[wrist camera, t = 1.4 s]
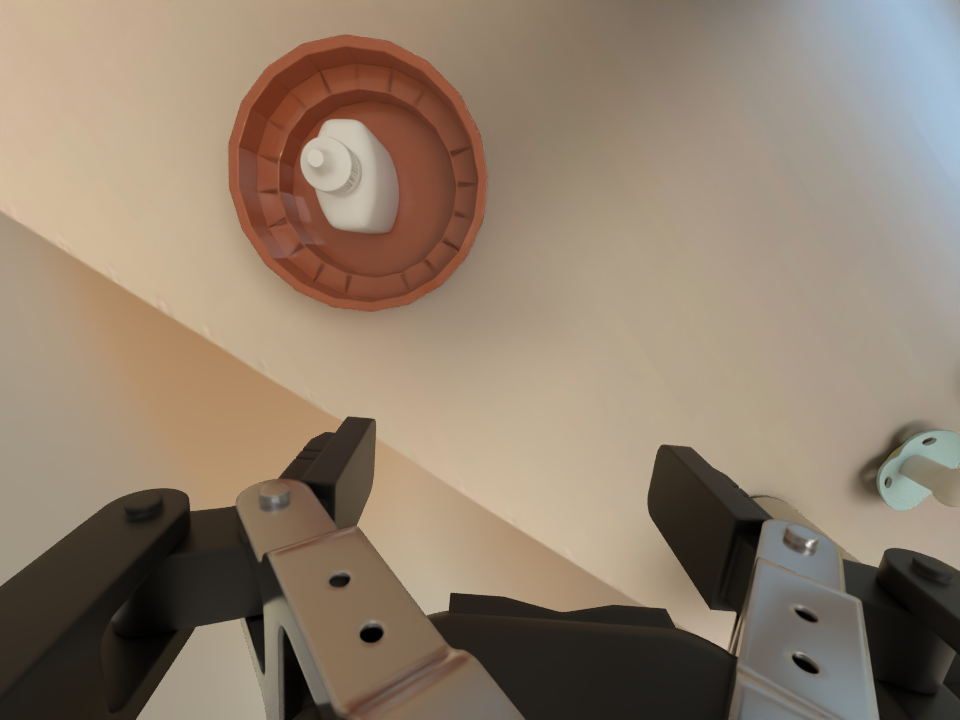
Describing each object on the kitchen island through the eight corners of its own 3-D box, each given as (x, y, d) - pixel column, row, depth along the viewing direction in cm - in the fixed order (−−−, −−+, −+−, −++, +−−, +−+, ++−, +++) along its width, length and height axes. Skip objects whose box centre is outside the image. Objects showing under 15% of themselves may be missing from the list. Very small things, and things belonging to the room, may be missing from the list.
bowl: (267, 55, 29) (225, 16, 24) (497, 87, 30) (502, 56, 25) (266, 288, 33) (230, 295, 28) (471, 312, 33) (471, 323, 29)
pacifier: (962, 449, 37) (915, 411, 36) (1061, 490, 31) (1008, 446, 30) (896, 514, 38) (849, 479, 37) (978, 565, 32) (925, 526, 31)
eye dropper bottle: (329, 212, 31) (242, 191, 19) (364, 136, 30) (295, 65, 18) (385, 244, 32) (333, 242, 20) (422, 171, 31) (390, 123, 19)
